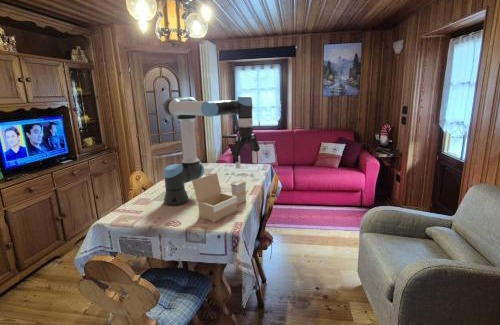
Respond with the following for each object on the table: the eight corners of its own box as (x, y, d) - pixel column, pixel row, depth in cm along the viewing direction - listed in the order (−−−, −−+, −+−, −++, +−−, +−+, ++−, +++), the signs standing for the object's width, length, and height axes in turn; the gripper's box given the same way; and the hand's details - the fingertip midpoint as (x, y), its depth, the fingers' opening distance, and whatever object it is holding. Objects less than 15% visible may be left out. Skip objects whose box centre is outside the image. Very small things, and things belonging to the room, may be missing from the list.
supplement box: (240, 199, 180) (239, 180, 177) (246, 201, 177) (245, 181, 174) (231, 203, 174) (230, 183, 171) (237, 205, 171) (236, 184, 168)
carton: (199, 217, 156) (198, 201, 154) (222, 206, 170) (221, 192, 168) (214, 222, 149) (213, 206, 147) (237, 211, 162) (236, 196, 160)
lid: (198, 201, 154) (197, 201, 155) (221, 192, 168) (220, 192, 168) (192, 180, 153) (191, 180, 154) (216, 172, 167) (215, 173, 167)
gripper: (234, 129, 137) (235, 171, 142) (265, 124, 155) (266, 161, 160) (223, 128, 142) (225, 169, 147) (255, 123, 160) (255, 160, 165)
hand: (246, 165), depth 153 cm, fingers open, 13 cm apart
